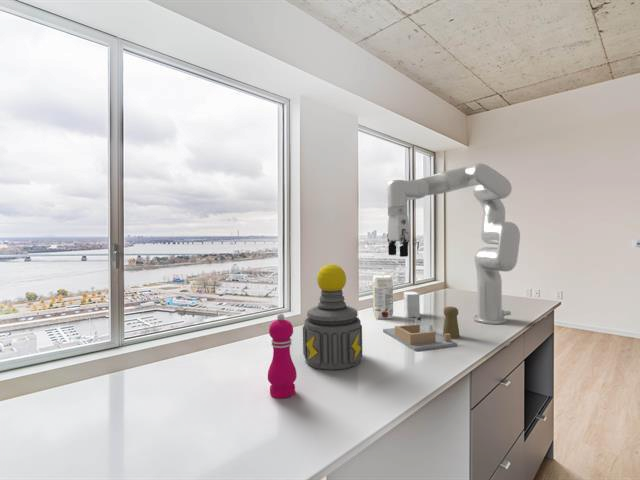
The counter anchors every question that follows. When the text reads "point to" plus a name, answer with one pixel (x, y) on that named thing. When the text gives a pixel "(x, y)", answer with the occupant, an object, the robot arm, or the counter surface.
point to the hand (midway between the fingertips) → (397, 255)
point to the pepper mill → (281, 359)
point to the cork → (451, 322)
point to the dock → (419, 337)
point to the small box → (411, 304)
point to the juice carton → (383, 297)
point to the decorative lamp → (332, 326)
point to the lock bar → (424, 324)
